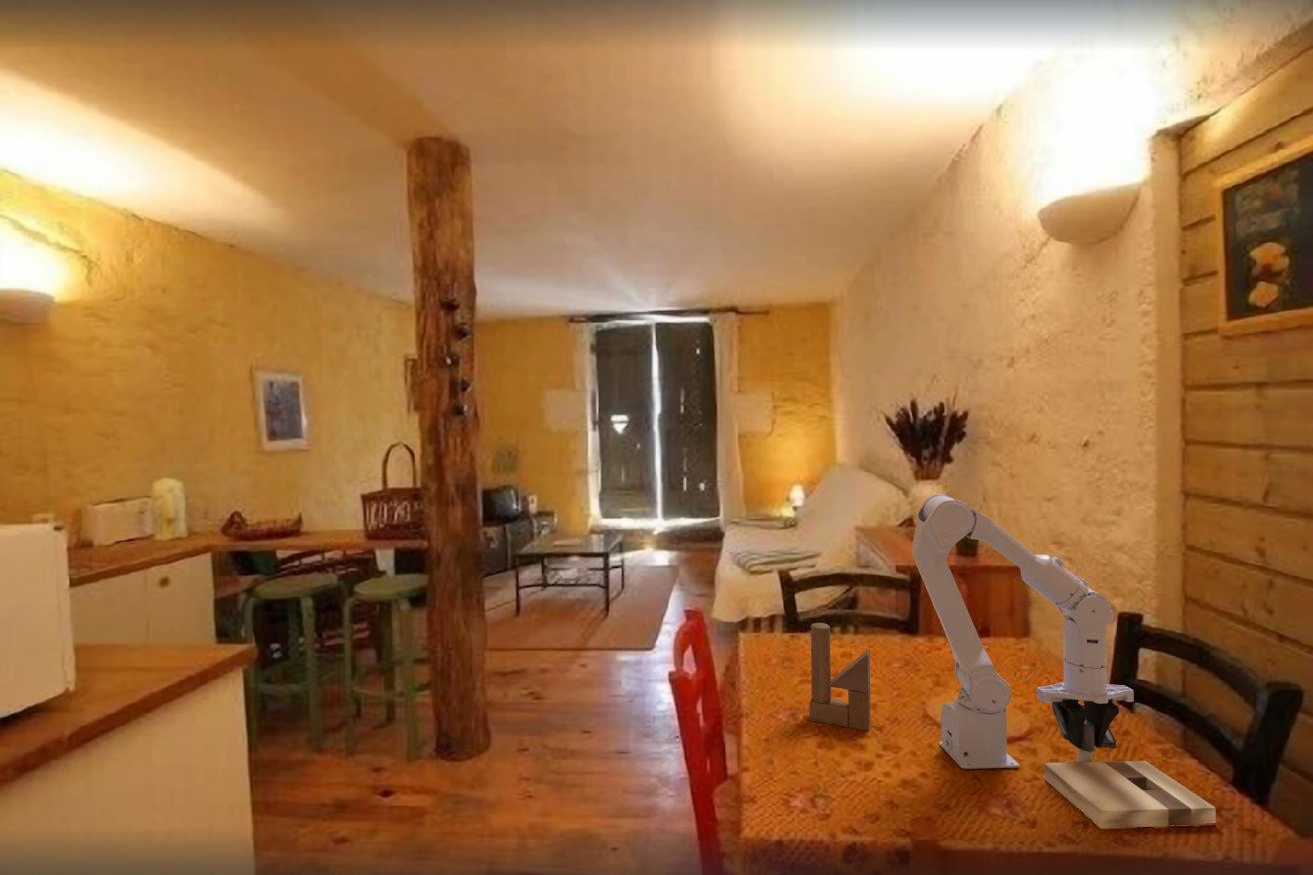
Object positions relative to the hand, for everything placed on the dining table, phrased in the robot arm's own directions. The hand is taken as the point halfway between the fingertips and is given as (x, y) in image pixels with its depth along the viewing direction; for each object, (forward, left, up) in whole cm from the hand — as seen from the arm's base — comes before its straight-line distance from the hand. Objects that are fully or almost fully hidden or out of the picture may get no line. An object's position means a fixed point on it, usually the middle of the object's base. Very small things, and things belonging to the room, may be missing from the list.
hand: (1085, 744), depth 100 cm
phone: (+9, +14, -4) cm, 17 cm away
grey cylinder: (0, 0, -3) cm, 3 cm away
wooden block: (-35, +17, -4) cm, 39 cm away
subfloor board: (-1, -9, -3) cm, 10 cm away
